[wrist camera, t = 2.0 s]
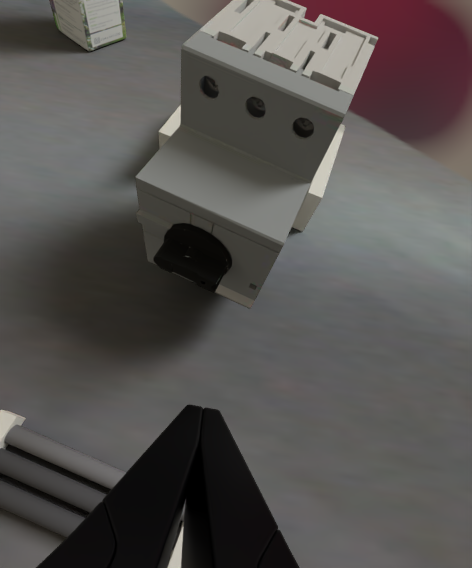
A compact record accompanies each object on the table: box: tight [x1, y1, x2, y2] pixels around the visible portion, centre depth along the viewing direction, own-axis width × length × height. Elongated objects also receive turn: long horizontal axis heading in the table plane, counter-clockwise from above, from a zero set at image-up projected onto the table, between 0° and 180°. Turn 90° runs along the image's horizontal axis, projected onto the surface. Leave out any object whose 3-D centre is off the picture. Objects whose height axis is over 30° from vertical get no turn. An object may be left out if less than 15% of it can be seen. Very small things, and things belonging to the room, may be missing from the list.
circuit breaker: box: [135, 0, 378, 309], centre depth 20 cm, size 8×14×15 cm, turn 156°
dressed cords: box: [0, 410, 186, 568], centre depth 17 cm, size 4×23×1 cm, turn 69°
